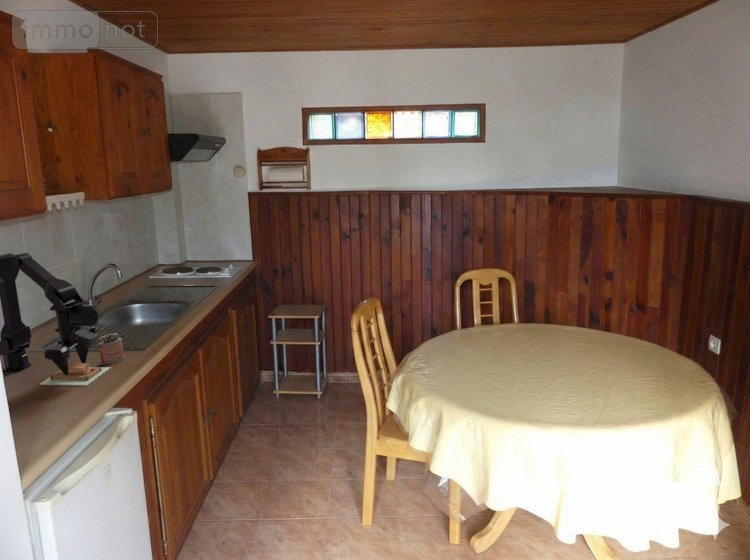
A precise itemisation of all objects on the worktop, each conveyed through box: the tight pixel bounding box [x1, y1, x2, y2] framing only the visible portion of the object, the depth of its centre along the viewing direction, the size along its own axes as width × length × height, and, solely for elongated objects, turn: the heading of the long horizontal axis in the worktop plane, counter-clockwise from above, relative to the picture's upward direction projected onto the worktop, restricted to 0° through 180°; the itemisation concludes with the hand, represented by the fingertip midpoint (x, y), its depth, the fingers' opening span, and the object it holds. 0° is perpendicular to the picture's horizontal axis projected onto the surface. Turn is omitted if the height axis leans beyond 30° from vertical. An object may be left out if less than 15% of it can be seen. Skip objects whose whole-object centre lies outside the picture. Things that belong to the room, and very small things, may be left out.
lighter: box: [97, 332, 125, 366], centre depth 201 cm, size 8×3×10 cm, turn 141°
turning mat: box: [39, 366, 112, 387], centre depth 190 cm, size 16×14×2 cm
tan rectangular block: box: [61, 362, 91, 376], centre depth 189 cm, size 4×8×4 cm, turn 83°
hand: (75, 369), depth 189 cm, fingers open, 9 cm apart
